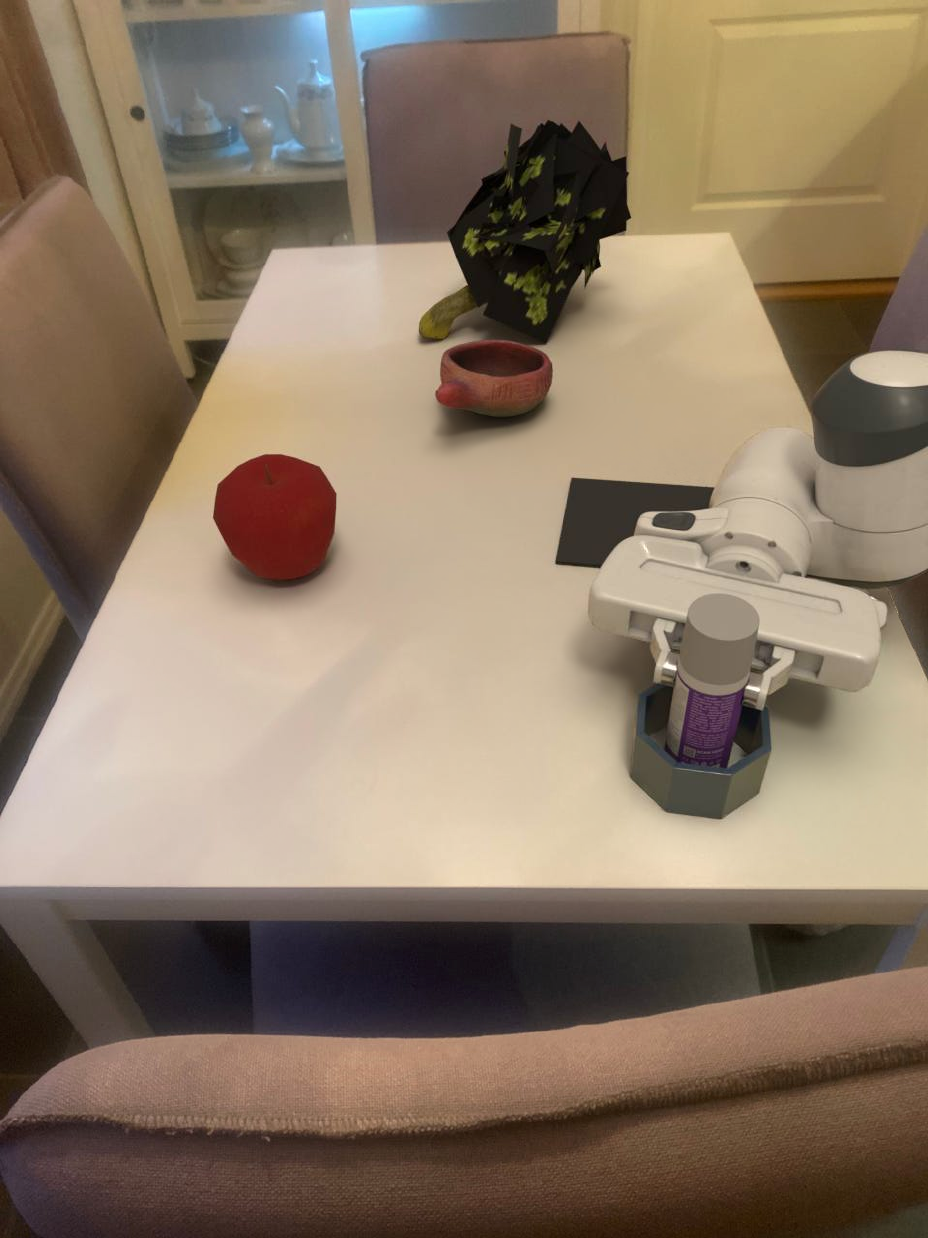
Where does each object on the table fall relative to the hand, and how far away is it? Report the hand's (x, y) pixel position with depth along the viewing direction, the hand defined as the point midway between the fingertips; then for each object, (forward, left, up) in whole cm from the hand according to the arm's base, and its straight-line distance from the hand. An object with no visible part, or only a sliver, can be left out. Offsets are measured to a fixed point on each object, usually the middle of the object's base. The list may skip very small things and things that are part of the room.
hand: (707, 689), depth 61 cm
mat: (+2, -30, -9) cm, 31 cm away
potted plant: (+25, -75, -9) cm, 79 cm away
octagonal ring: (0, -1, -9) cm, 9 cm away
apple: (+38, -19, -9) cm, 43 cm away
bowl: (+23, -49, -9) cm, 55 cm away
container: (0, -1, -9) cm, 9 cm away
